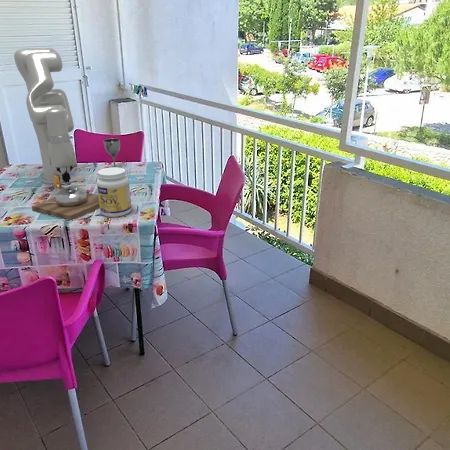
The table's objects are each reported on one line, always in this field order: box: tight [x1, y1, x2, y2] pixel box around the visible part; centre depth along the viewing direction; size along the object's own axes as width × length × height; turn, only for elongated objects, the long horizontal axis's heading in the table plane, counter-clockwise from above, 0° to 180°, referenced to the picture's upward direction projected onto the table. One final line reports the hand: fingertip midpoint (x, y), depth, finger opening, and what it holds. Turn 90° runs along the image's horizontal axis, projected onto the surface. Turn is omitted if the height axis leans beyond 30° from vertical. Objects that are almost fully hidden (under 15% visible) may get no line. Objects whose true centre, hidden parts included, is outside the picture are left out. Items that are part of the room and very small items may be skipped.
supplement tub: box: [96, 166, 133, 218], centre depth 169 cm, size 12×12×17 cm
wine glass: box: [103, 137, 122, 168], centre depth 224 cm, size 8×8×15 cm
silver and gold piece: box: [53, 174, 87, 207], centre depth 178 cm, size 20×12×8 cm, turn 43°
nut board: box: [31, 192, 100, 221], centre depth 178 cm, size 22×22×2 cm
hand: (66, 181), depth 185 cm, fingers closed
